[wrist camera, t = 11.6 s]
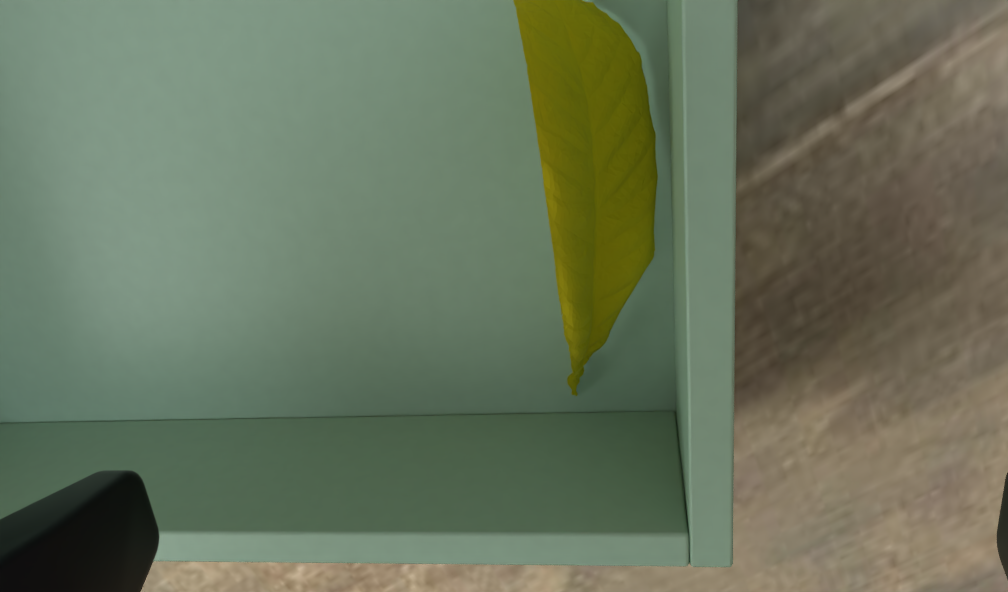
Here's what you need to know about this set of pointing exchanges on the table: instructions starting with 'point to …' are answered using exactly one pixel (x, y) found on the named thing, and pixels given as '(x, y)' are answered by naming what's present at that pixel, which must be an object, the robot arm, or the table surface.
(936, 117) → the table surface
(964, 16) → the table surface
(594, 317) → the decorative leaf
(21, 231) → the shallow green tray
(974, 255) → the table surface
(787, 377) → the table surface
